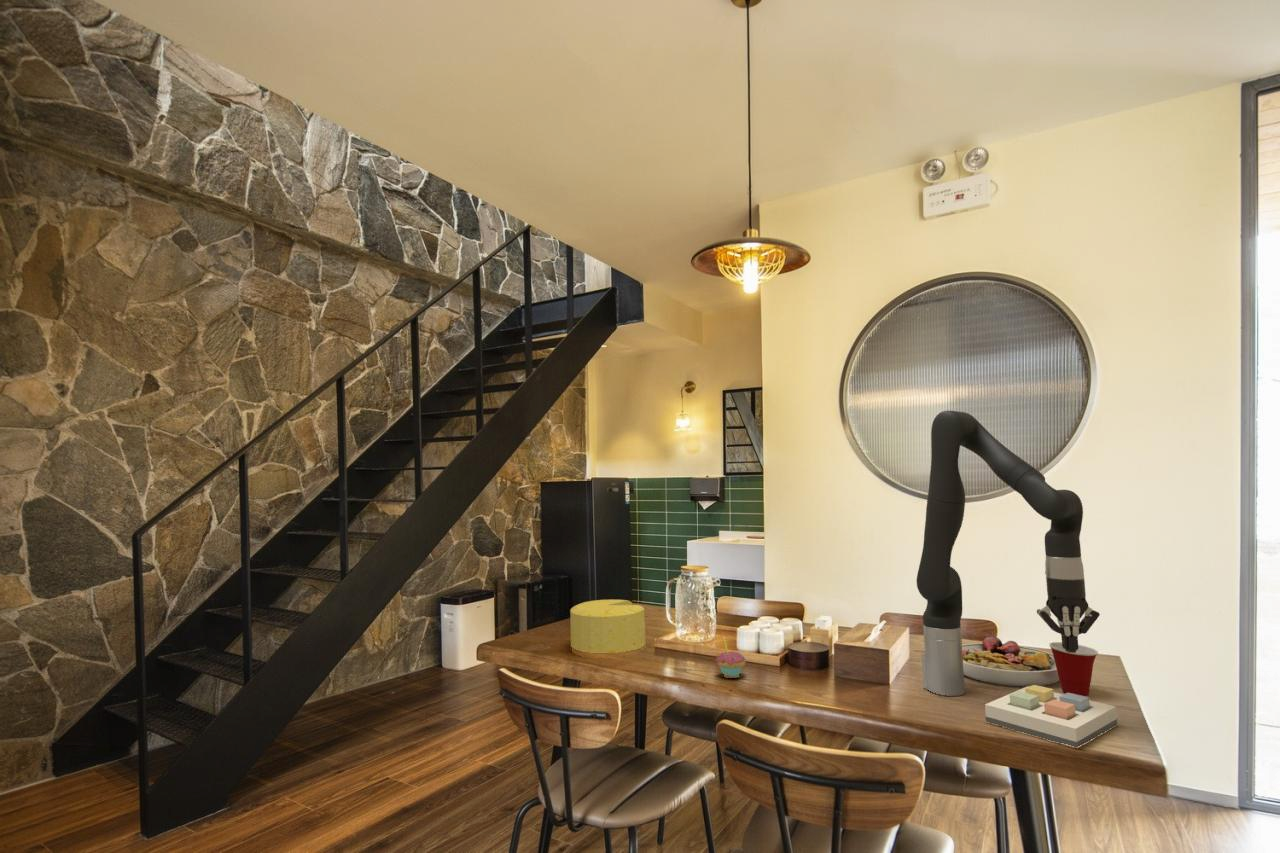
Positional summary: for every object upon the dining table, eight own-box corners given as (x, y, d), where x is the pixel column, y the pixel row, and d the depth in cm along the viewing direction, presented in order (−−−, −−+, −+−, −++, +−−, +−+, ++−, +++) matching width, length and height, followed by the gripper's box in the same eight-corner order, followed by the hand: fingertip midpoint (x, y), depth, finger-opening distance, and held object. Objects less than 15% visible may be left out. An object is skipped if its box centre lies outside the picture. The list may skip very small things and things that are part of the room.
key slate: (1060, 707, 150) (1059, 696, 151) (1068, 702, 153) (1067, 692, 153) (1081, 712, 147) (1080, 701, 147) (1089, 708, 149) (1089, 697, 150)
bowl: (1087, 692, 172) (1085, 662, 172) (964, 688, 178) (962, 658, 178) (1042, 661, 201) (1040, 635, 202) (937, 658, 207) (936, 632, 208)
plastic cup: (1107, 702, 164) (1103, 653, 165) (1057, 697, 168) (1053, 650, 169) (1095, 688, 174) (1091, 642, 175) (1048, 685, 178) (1045, 640, 179)
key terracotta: (1045, 714, 146) (1044, 703, 146) (1054, 710, 149) (1053, 699, 149) (1066, 720, 143) (1065, 709, 143) (1075, 715, 145) (1074, 704, 145)
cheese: (656, 642, 235) (655, 600, 236) (627, 662, 211) (626, 614, 212) (591, 637, 245) (590, 596, 246) (556, 655, 221) (556, 610, 222)
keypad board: (986, 722, 152) (984, 704, 153) (1029, 703, 164) (1028, 686, 165) (1077, 749, 137) (1075, 728, 137) (1117, 725, 149) (1115, 706, 149)
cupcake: (714, 679, 190) (712, 637, 191) (720, 671, 198) (718, 631, 199) (743, 682, 187) (741, 639, 188) (748, 673, 195) (746, 632, 196)
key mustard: (1025, 698, 157) (1025, 688, 157) (1034, 694, 159) (1033, 684, 159) (1045, 703, 153) (1044, 693, 153) (1054, 699, 156) (1053, 689, 156)
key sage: (1010, 705, 152) (1009, 695, 153) (1019, 701, 155) (1018, 691, 155) (1030, 710, 149) (1029, 699, 149) (1039, 706, 151) (1038, 695, 151)
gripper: (1040, 578, 150) (1046, 655, 148) (1104, 578, 147) (1111, 656, 146) (1027, 573, 157) (1032, 647, 156) (1088, 573, 155) (1094, 648, 153)
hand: (1070, 651), depth 151 cm, fingers closed
